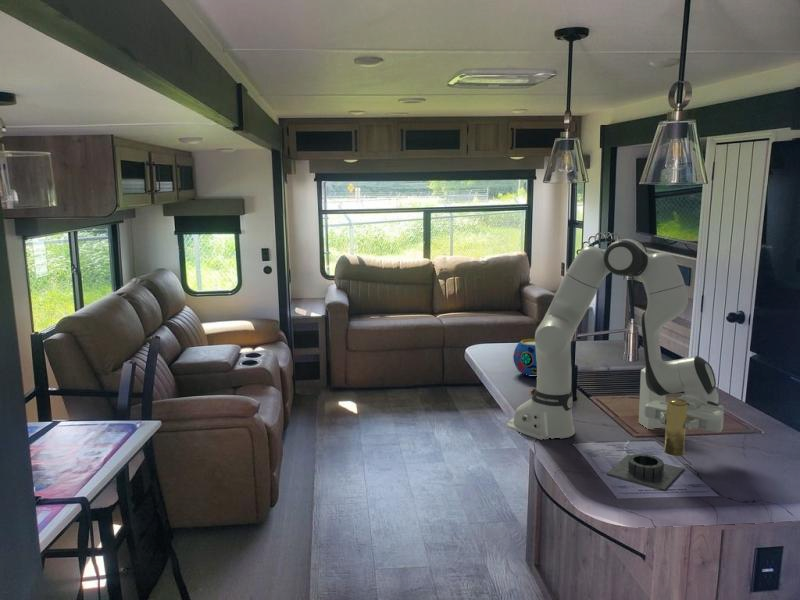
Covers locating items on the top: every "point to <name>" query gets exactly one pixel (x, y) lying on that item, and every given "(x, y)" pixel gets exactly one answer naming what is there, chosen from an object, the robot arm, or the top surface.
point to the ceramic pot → (526, 357)
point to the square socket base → (646, 471)
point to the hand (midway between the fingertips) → (674, 423)
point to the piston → (675, 427)
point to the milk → (645, 398)
